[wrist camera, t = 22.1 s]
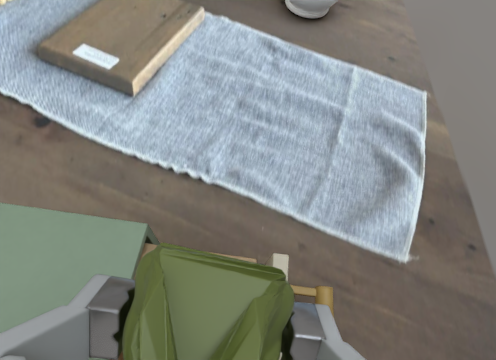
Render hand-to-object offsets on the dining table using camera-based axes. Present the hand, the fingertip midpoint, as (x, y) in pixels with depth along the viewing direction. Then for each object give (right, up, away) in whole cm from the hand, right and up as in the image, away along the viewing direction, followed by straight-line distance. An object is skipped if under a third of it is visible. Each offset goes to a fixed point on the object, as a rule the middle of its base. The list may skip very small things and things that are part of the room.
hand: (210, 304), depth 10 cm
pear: (-1, -3, +5) cm, 6 cm away
